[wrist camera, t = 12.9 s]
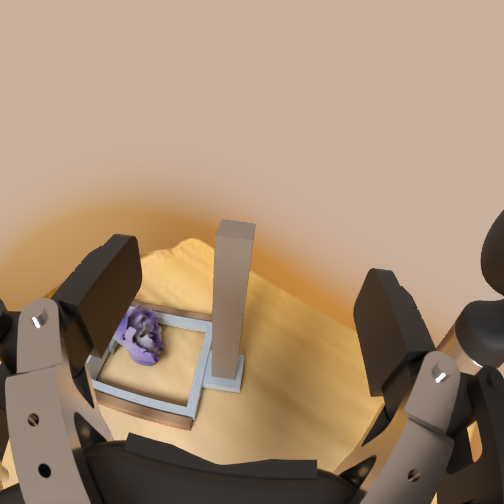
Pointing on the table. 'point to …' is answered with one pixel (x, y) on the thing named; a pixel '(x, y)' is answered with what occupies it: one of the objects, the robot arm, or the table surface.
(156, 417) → the frame
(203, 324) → the frame with upright post
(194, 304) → the table surface
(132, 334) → the flower
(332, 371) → the table surface
